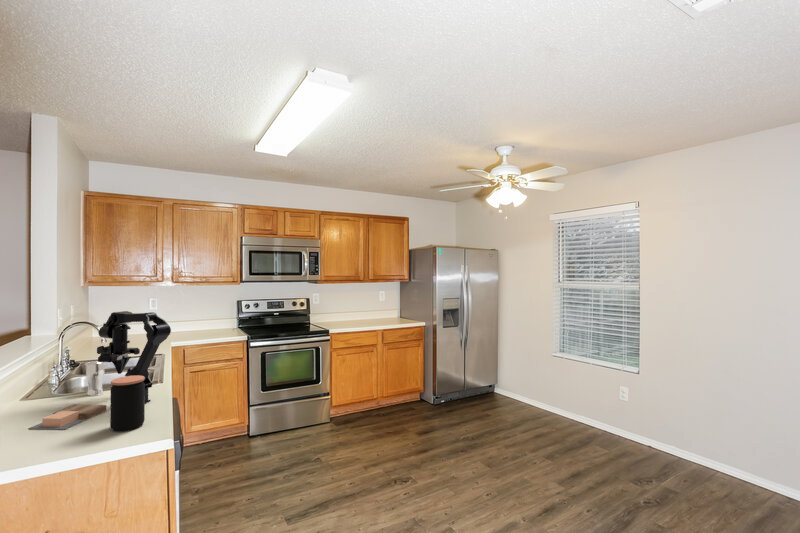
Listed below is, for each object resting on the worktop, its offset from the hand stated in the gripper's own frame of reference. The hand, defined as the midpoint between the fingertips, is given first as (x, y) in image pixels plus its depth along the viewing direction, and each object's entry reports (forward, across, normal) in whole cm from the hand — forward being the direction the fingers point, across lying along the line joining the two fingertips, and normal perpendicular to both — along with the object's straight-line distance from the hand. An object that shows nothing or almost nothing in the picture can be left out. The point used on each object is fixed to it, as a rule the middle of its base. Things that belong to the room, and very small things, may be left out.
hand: (119, 373), depth 183 cm
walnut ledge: (+12, +19, -2) cm, 23 cm away
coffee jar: (+12, +30, +26) cm, 42 cm away
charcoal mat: (+12, +29, -2) cm, 31 cm away
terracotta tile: (+12, +28, -2) cm, 30 cm away
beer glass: (+12, -8, -18) cm, 23 cm away
